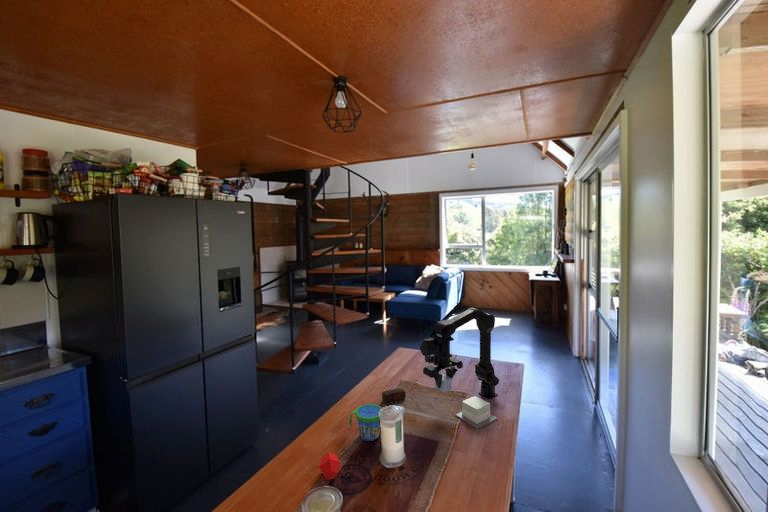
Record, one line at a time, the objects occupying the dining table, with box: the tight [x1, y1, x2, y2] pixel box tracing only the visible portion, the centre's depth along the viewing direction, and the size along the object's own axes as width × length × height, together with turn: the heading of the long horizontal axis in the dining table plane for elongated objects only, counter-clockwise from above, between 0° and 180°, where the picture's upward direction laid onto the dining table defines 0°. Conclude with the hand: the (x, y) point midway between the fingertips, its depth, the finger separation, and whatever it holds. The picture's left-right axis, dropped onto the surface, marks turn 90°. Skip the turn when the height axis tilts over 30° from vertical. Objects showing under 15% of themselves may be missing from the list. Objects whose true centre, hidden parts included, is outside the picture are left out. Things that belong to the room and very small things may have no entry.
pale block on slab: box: [454, 395, 498, 430], centre depth 137 cm, size 12×12×7 cm
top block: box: [434, 374, 453, 393], centre depth 143 cm, size 5×5×5 cm
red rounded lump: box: [318, 451, 341, 481], centre depth 107 cm, size 7×7×8 cm
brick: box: [381, 387, 407, 405], centre depth 153 cm, size 11×4×5 cm, turn 116°
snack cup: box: [349, 403, 382, 442], centre depth 126 cm, size 16×10×10 cm
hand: (443, 386), depth 143 cm, fingers closed on top block, 5 cm apart
